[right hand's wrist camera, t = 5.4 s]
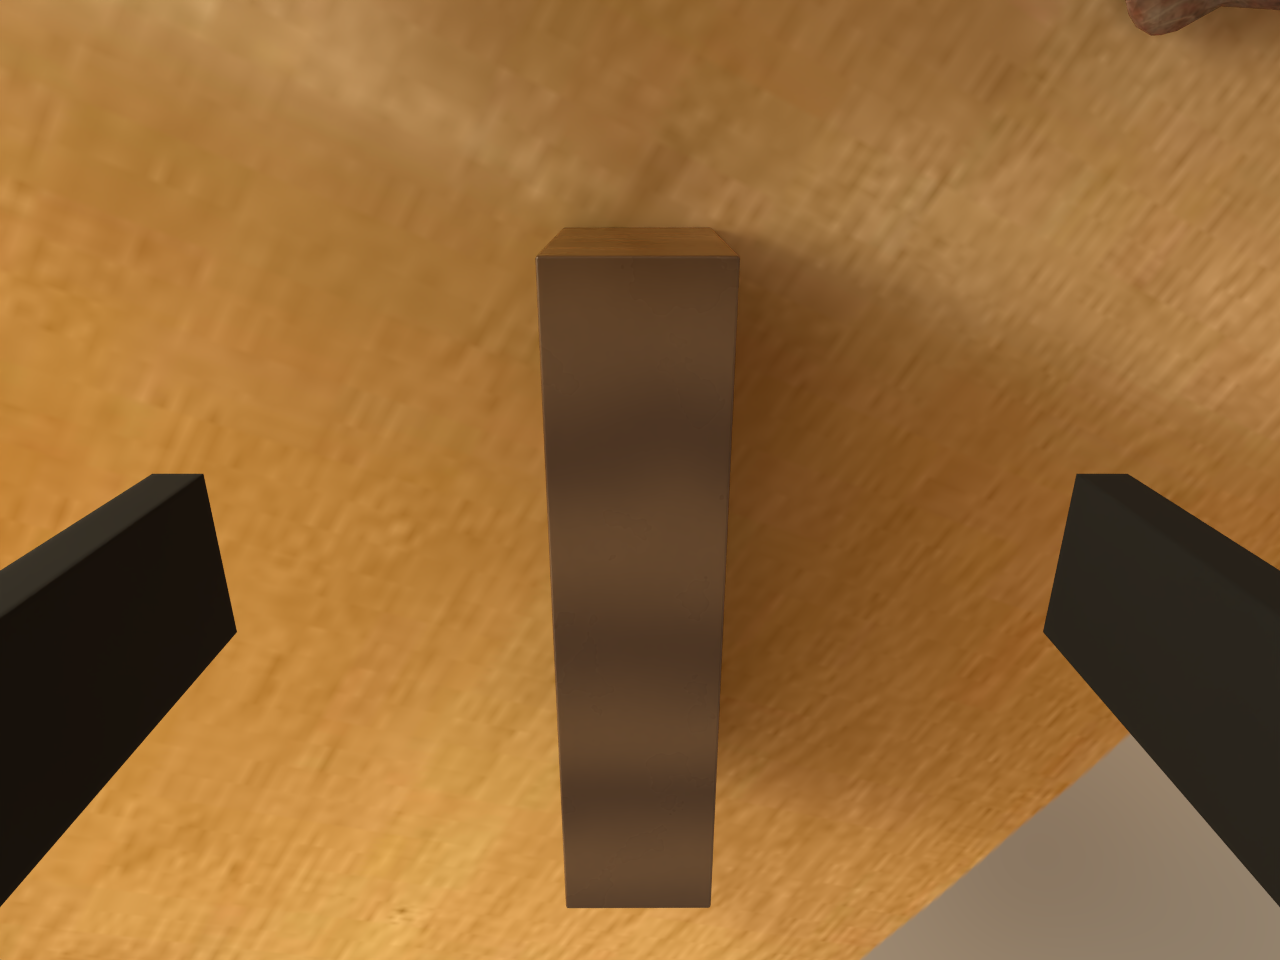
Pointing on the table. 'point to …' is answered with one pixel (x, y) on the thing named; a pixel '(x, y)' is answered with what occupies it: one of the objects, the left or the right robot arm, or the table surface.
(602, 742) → the bar
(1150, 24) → the sculpture
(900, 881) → the table surface
